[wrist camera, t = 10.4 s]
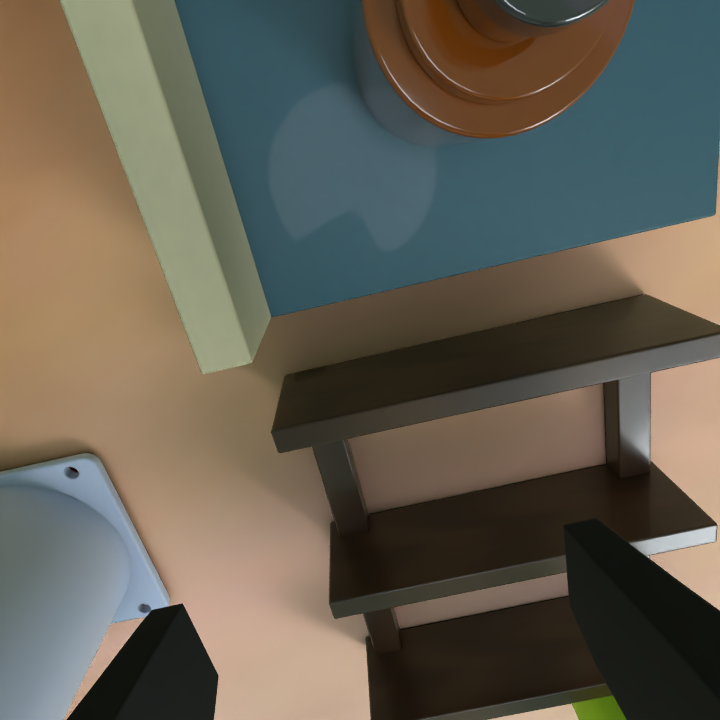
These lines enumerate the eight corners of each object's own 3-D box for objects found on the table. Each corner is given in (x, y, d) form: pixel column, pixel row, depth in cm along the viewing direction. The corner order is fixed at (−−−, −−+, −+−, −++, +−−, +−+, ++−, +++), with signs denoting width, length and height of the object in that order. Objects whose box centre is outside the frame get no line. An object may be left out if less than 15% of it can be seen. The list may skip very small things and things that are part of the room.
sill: (246, 304, 17) (201, 376, 11) (114, -106, 12) (-67, -324, 7) (661, 208, 16) (835, 232, 10) (667, -256, 12) (960, -627, 6)
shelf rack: (368, 648, 23) (375, 741, 19) (284, 374, 18) (270, 431, 14) (646, 592, 22) (707, 678, 19) (646, 293, 17) (732, 329, 13)
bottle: (371, 164, 13) (408, 166, 6) (332, -30, 11) (326, -305, 5) (531, 126, 13) (744, 85, 6) (514, -76, 11) (781, -435, 4)
